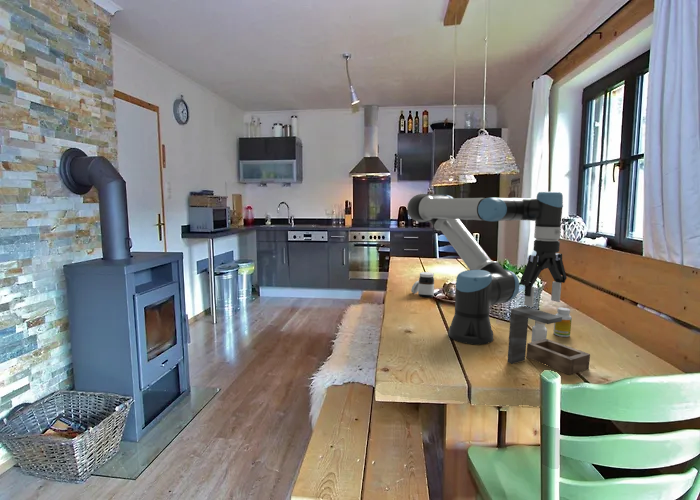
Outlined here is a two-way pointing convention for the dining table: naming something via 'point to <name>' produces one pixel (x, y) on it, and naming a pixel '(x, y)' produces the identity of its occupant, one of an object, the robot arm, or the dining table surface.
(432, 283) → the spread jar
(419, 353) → the dining table surface
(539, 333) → the pepper shaker
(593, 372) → the dining table surface
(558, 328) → the supplement bottle
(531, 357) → the brown and grey frame
